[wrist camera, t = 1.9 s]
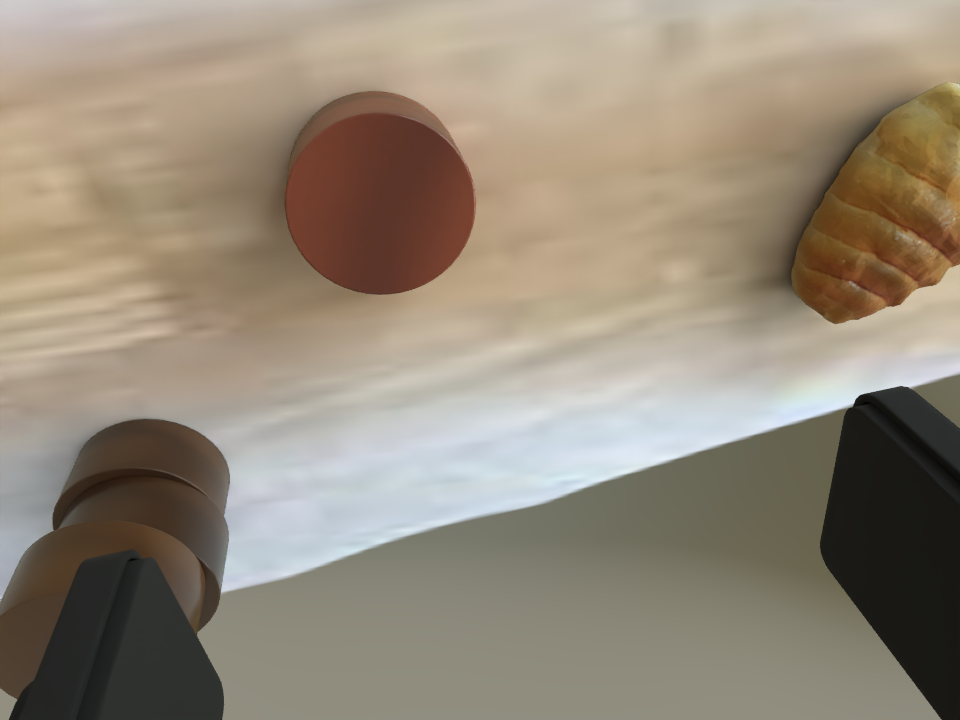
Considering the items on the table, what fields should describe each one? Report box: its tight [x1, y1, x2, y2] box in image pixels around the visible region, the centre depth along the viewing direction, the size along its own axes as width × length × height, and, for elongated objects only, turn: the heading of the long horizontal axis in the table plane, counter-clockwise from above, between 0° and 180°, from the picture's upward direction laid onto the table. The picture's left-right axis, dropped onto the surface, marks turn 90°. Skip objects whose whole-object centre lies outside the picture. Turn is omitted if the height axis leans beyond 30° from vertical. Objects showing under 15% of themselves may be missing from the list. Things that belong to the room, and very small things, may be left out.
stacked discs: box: [0, 419, 230, 699], centre depth 26 cm, size 7×7×9 cm
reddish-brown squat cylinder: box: [285, 91, 476, 295], centre depth 24 cm, size 6×6×3 cm
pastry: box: [791, 82, 960, 324], centre depth 28 cm, size 9×7×4 cm
